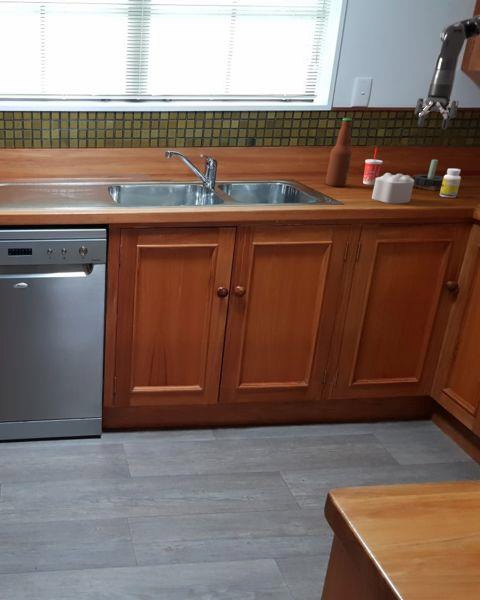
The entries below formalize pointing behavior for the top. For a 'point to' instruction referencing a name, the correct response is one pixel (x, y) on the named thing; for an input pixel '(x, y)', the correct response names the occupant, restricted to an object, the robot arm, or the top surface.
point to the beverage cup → (371, 170)
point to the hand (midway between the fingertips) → (431, 128)
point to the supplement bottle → (450, 183)
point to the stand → (430, 177)
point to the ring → (428, 180)
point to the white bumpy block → (393, 188)
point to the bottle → (340, 157)
